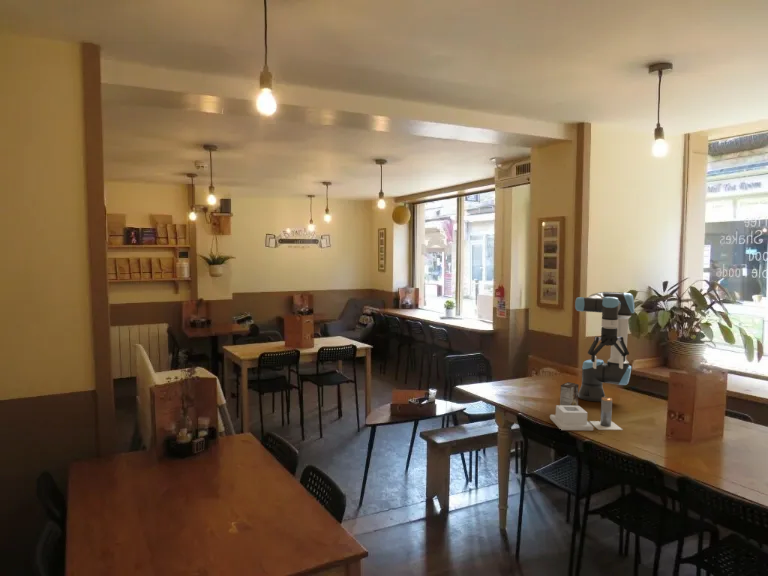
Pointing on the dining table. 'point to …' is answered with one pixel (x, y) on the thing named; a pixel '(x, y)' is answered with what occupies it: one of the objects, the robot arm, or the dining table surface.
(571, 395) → the coffee box
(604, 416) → the copper top metal cylinder
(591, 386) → the robot arm
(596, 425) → the pad
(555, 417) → the housing
